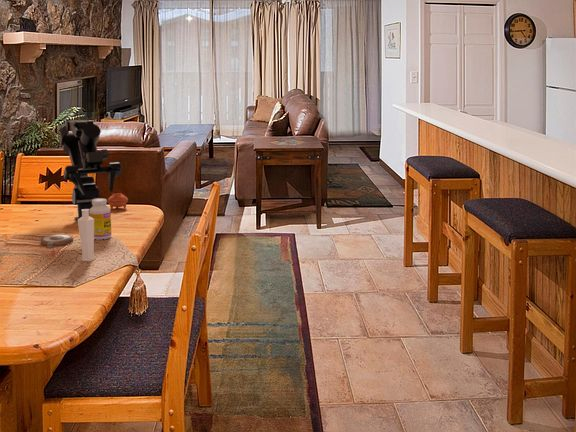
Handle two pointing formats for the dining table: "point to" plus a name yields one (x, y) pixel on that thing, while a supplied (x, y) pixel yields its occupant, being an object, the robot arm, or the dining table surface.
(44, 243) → the post base
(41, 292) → the dining table surface
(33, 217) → the dining table surface
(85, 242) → the perfume bottle
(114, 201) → the pot
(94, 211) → the supplement bottle
